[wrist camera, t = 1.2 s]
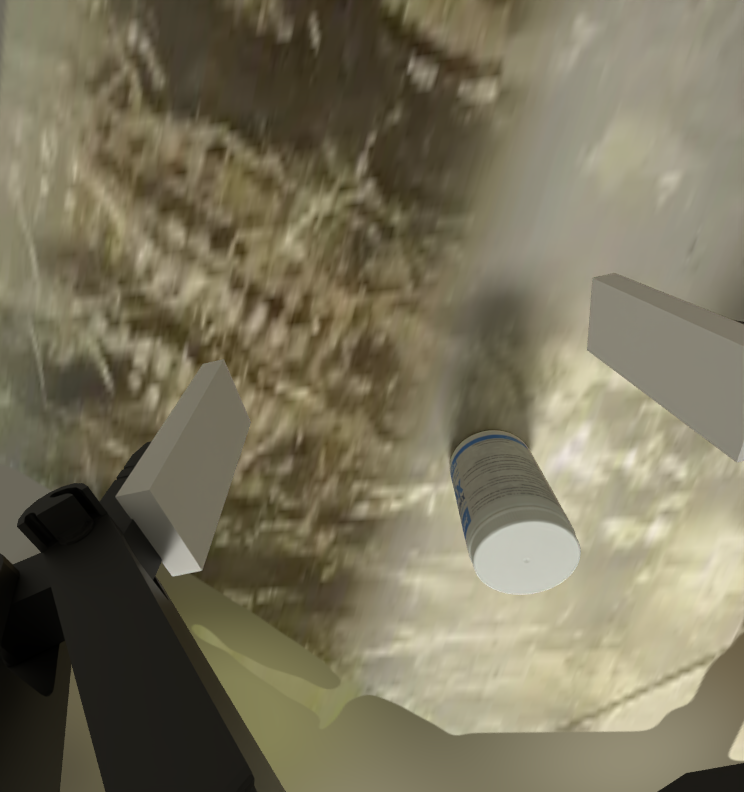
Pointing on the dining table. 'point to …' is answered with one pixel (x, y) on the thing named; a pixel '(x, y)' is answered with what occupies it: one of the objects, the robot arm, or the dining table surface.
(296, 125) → the dining table surface
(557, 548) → the supplement tub
